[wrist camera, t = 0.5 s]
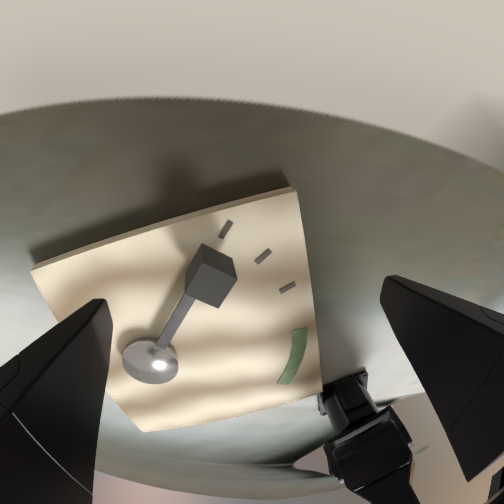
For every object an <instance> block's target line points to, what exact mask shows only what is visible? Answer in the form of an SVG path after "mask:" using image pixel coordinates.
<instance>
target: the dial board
mask: <svg viewBox="0 0 504 504" xmlns="http://www.w3.org/2000/svg"><path fill="white" fill-rule="evenodd" d="M201 243H203V244H205V245H207V246H209V247H211V248H213V249H215V250H217V251H219V252H221V253H223V254H225V255H227V256H229V257H231V258H232V259H233V263H234V267H235V270H236V274H237V278H238V280H237V282H236V283H235V285H234V286H233V288H232V289H231V291H230V292H229V294H228V295H227V297H226V298H225V300H224V301H223V303H222V304H221V306H220V307H219V309H218V308H215V307H213V306H211V305H208V304H206V303H204V302H201V301H199V300H197V299H196V300H195V301H194V303H193V305H192V306H191V308H190V310H189V311H188V313H187V315H186V316H185V318H184V320H183V321H182V323H181V324H180V326H179V328H178V329H177V331H176V333H175V334H174V336H173V338H172V340H171V341H170V343H169V345H170V346H172V347H173V348H174V350H175V351H176V353H177V355H178V360H179V362H178V373H177V375H176V376H175V377H174V378H173V379H172V380H171V381H169V382H166V383H163V384H147V383H143V382H140V381H138V380H136V379H134V378H132V377H131V376H130V375H129V374H128V373H127V372H126V371H125V369H124V367H123V364H122V358H123V354H124V350H125V347H126V346H127V344H128V343H129V342H131V341H132V340H135V339H137V338H142V337H151V338H156V339H158V338H159V336H160V334H161V332H162V331H163V329H164V327H165V325H166V324H167V322H168V320H169V318H170V316H171V315H172V313H173V311H174V309H175V308H176V306H177V304H178V302H179V301H180V299H181V297H182V296H183V294H184V289H185V271H186V269H187V268H188V266H189V264H190V262H191V261H192V259H193V257H194V255H195V254H196V252H197V250H198V248H199V247H200V245H201ZM30 272H31V274H32V276H33V278H34V280H35V282H36V284H37V286H38V288H39V290H40V292H41V294H42V295H43V297H44V299H45V301H46V303H47V304H48V306H49V308H50V310H51V311H52V313H53V315H54V316H55V318H56V320H57V321H58V323H60V322H61V321H62V320H64V319H65V318H67V317H68V316H69V315H71V314H72V313H74V312H75V311H76V310H78V309H79V308H81V307H82V306H83V305H85V304H86V303H88V302H89V301H90V300H92V299H95V298H104V299H106V301H107V303H108V306H109V310H110V313H111V317H112V320H113V334H112V343H111V354H110V365H109V372H108V378H107V383H106V388H105V390H106V391H107V392H108V393H109V395H110V396H111V397H112V398H113V400H114V401H115V402H116V403H117V404H118V405H119V407H120V408H121V409H122V410H123V411H124V412H125V414H126V415H127V416H128V417H129V418H130V419H131V420H132V421H133V422H134V424H135V425H136V426H137V427H138V428H139V429H140V430H141V431H142V432H149V431H158V430H165V429H173V428H179V427H186V426H192V425H198V424H203V423H208V422H214V421H218V420H223V419H228V418H232V417H237V416H241V415H245V414H250V413H254V412H257V411H261V410H265V409H269V408H272V407H276V406H280V405H283V404H286V403H290V402H293V401H296V400H299V399H303V398H306V397H309V396H312V395H315V394H318V393H321V392H323V387H322V376H321V365H320V355H319V346H318V337H317V328H316V319H315V311H314V303H313V295H312V287H311V280H310V273H309V266H308V259H307V252H306V245H305V239H304V233H303V226H302V220H301V214H300V208H299V202H298V197H297V191H296V190H295V189H293V188H292V187H291V186H290V187H286V188H282V189H278V190H273V191H269V192H265V193H261V194H258V195H254V196H250V197H246V198H242V199H238V200H234V201H231V202H227V203H223V204H220V205H216V206H212V207H209V208H205V209H202V210H198V211H195V212H191V213H188V214H184V215H181V216H177V217H174V218H171V219H167V220H164V221H161V222H157V223H154V224H151V225H148V226H144V227H141V228H138V229H135V230H132V231H129V232H126V233H122V234H119V235H116V236H113V237H110V238H107V239H104V240H101V241H98V242H95V243H92V244H89V245H87V246H84V247H81V248H78V249H75V250H72V251H69V252H67V253H64V254H61V255H58V256H56V257H53V258H50V259H47V260H45V261H42V262H39V263H37V264H36V265H35V266H34V268H33V269H32V270H31V271H30Z"/></svg>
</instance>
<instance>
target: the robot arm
mask: <svg viewBox="0 0 504 504" xmlns="http://www.w3.org/2000/svg"><path fill="white" fill-rule="evenodd" d="M380 303H381V306H382V308H383V310H384V312H385V314H386V316H387V319H388V321H389V323H390V325H391V327H392V330H393V332H394V334H395V336H396V338H397V340H398V342H399V344H400V345H401V347H402V349H403V351H404V352H405V354H406V356H407V358H408V360H409V361H410V363H411V365H412V367H413V369H414V371H415V372H416V374H417V376H418V378H419V380H420V382H421V384H422V386H423V388H424V389H425V391H426V393H427V395H428V397H429V399H430V401H431V403H432V405H433V407H434V409H435V411H436V413H437V415H438V417H439V419H440V422H441V423H442V426H443V428H444V430H445V432H446V433H447V434H446V435H447V437H448V439H449V441H450V443H451V446H452V448H453V450H454V452H455V455H456V457H457V459H458V462H459V464H460V466H461V469H462V471H463V474H464V476H465V478H466V480H467V482H469V481H471V480H472V479H474V478H475V477H477V476H478V475H479V474H481V473H482V472H483V471H484V470H486V469H487V468H488V467H489V466H491V465H492V464H493V463H494V462H496V461H497V460H498V459H499V458H500V457H502V456H503V455H504V314H502V313H499V312H496V311H493V310H491V309H488V308H485V307H483V306H478V305H477V304H475V303H472V302H469V301H467V300H464V299H461V298H459V297H456V296H453V295H450V294H448V293H445V292H442V291H439V290H437V289H434V288H431V287H428V286H426V285H423V284H420V283H417V282H415V281H412V280H409V279H406V278H403V277H401V276H398V275H391V276H387V277H385V279H384V282H383V286H382V290H381V294H380ZM112 334H113V320H112V317H111V313H110V310H109V306H108V303H107V301H106V299H104V298H95V299H92V300H90V301H89V302H88V303H86V304H85V305H83V306H82V307H81V308H79V309H78V310H76V311H75V312H74V313H72V314H71V315H69V316H68V317H67V318H65V319H64V320H62V321H61V322H60V323H58V324H57V325H56V326H54V327H53V328H51V329H50V330H49V331H47V332H46V333H45V334H43V335H42V336H41V337H39V338H38V339H37V340H35V341H34V342H33V343H31V344H30V345H29V346H27V347H26V348H25V349H24V350H22V351H21V352H20V353H19V355H18V354H17V355H16V356H14V357H13V358H12V359H11V360H9V361H8V362H7V363H5V364H4V365H3V366H1V367H0V504H92V498H93V496H92V493H93V480H94V468H95V457H96V448H97V440H98V432H99V425H100V418H101V412H102V405H103V399H104V394H105V388H106V383H107V378H108V372H109V365H110V354H111V343H112ZM367 381H368V373H367V371H362V372H360V373H357V374H355V375H352V376H349V377H347V378H344V379H342V380H339V381H336V382H333V383H331V384H328V385H325V386H322V387H323V392H321V393H318V396H319V406H320V414H321V416H325V415H328V417H329V419H330V421H331V424H332V426H333V428H334V430H335V433H336V435H335V436H333V437H331V438H329V439H328V438H327V439H325V440H324V443H325V445H324V447H323V448H324V451H325V453H326V456H327V460H328V467H329V473H330V475H331V476H334V477H336V478H337V479H338V480H339V482H340V483H345V485H346V487H347V488H348V489H349V490H350V491H352V492H353V493H355V494H356V495H357V496H359V497H361V498H363V499H364V500H366V501H368V502H369V503H371V504H420V502H419V500H418V499H417V496H416V494H415V493H414V491H413V489H412V481H413V475H414V467H415V463H414V459H413V455H412V452H411V450H410V447H412V446H413V442H412V439H411V437H410V435H409V433H408V432H407V430H406V428H405V426H404V425H403V423H402V422H401V420H400V419H399V417H398V416H397V415H396V413H395V412H394V410H393V409H392V407H391V406H390V405H388V406H386V408H384V409H383V410H381V411H379V410H378V409H377V407H376V405H375V403H374V402H373V400H372V398H371V396H370V395H369V393H368V391H367ZM484 504H504V467H503V468H501V469H500V470H499V471H498V472H497V473H496V474H494V475H493V476H492V480H491V486H490V491H489V496H488V500H487V501H486V502H485V503H484Z"/></svg>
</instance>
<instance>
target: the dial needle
mask: <svg viewBox="0 0 504 504" xmlns="http://www.w3.org/2000/svg"><path fill="white" fill-rule="evenodd" d="M237 280H238V278H237V274H236V270H235V267H234V263H233V259H232V258H231V257H229V256H227V255H225V254H223V253H221V252H219V251H217V250H215V249H213V248H211V247H209V246H207V245H205V244H203V243H201V245H200V247H199V248H198V250H197V252H196V254H195V255H194V257H193V259H192V261H191V262H190V264H189V266H188V268H187V269H186V271H185V289H184V294H183V296H182V297H181V299H180V301H179V302H178V304H177V306H176V308H175V309H174V311H173V313H172V315H171V316H170V318H169V320H168V322H167V324H166V325H165V327H164V329H163V331H162V332H161V334H160V336H159V338H158V339H156V338H151V337H142V338H137V339H135V340H132V341H131V342H129V343H128V344H127V346H126V347H125V350H124V354H123V358H122V364H123V367H124V369H125V371H126V372H127V373H128V374H129V375H130V376H131V377H132V378H134V379H136V380H138V381H140V382H143V383H147V384H163V383H166V382H169V381H171V380H172V379H173V378H174V377H175V376H176V375H177V373H178V362H179V360H178V355H177V353H176V351H175V350H174V348H173V347H172V346H170V345H169V343H170V341H171V340H172V338H173V336H174V334H175V333H176V331H177V329H178V328H179V326H180V324H181V323H182V321H183V320H184V318H185V316H186V315H187V313H188V311H189V310H190V308H191V306H192V305H193V303H194V301H195V300H196V299H197V300H199V301H201V302H204V303H206V304H208V305H211V306H213V307H215V308H218V309H219V307H220V306H221V304H222V303H223V301H224V300H225V298H226V297H227V295H228V294H229V292H230V291H231V289H232V288H233V286H234V285H235V283H236V282H237Z"/></svg>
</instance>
